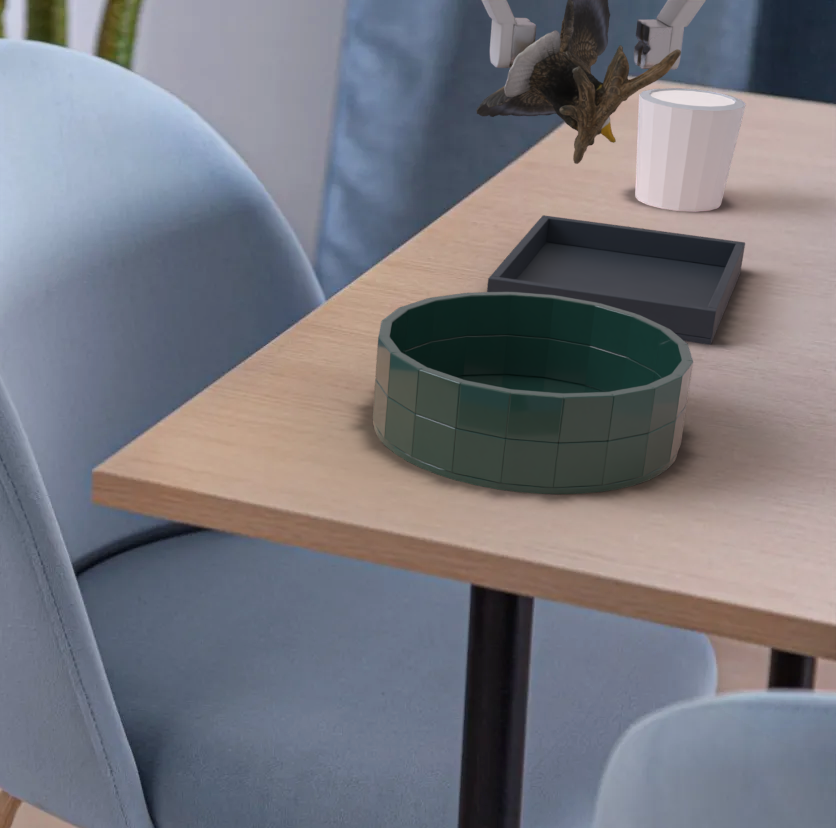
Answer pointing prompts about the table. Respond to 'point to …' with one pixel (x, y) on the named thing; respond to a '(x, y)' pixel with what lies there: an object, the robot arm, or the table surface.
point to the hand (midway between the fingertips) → (582, 66)
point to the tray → (627, 271)
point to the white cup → (685, 147)
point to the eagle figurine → (572, 76)
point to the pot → (530, 392)
